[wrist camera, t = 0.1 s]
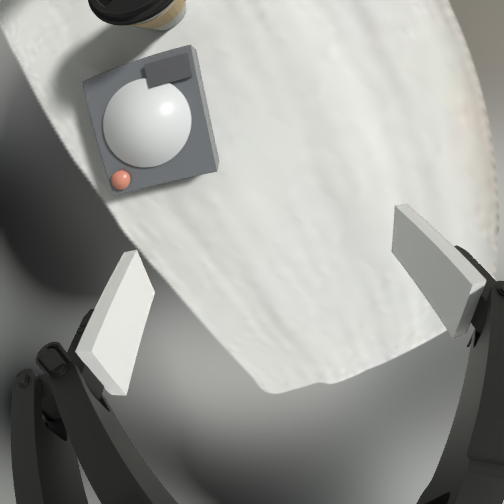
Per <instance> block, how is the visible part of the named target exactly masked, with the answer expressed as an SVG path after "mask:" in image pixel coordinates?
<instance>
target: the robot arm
mask: <svg viewBox="0 0 504 504" xmlns="http://www.w3.org/2000/svg"><path fill="white" fill-rule="evenodd" d="M392 253H393V254H394V255H395V257H396V258H397V259H398V261H399V262H400V263H401V264H402V266H403V267H404V268H405V270H406V271H407V272H408V274H409V275H410V277H411V278H412V279H413V281H414V282H415V283H416V285H417V286H418V288H419V289H420V290H421V292H422V293H423V295H424V296H425V297H426V299H427V300H428V302H429V303H430V305H431V306H432V308H433V309H434V310H435V312H436V313H437V315H438V316H439V318H440V319H441V321H442V323H443V324H444V326H445V327H446V329H447V330H448V332H449V333H450V335H451V336H452V338H455V337H458V336H460V335H463V334H465V333H466V332H467V330H468V328H469V326H470V323H472V325H473V326H474V327H475V330H474V332H473V334H472V336H471V338H470V341H469V343H468V345H467V347H469V346H470V344H471V348H470V354H469V359H468V365H467V370H466V375H465V379H464V384H463V388H462V392H461V396H460V400H459V404H458V407H457V411H456V415H455V418H454V421H453V425H452V428H451V431H450V434H449V437H448V440H447V443H446V445H445V448H444V451H443V454H442V456H441V459H440V461H439V464H438V466H437V469H436V471H435V474H434V476H433V478H432V480H431V482H430V483H429V485H428V486H427V488H426V489H425V490H424V492H423V493H422V495H421V496H420V498H419V500H418V502H417V504H502V503H503V500H504V281H495V280H494V279H493V277H492V276H491V275H490V274H489V273H488V272H487V271H486V270H485V269H484V268H483V267H482V266H481V265H480V264H478V262H477V261H476V260H475V259H473V257H472V256H471V255H470V254H469V253H468V252H467V251H466V250H464V249H463V248H461V247H459V246H453V245H452V244H451V243H450V242H449V241H448V240H447V239H446V238H445V237H444V236H443V235H442V234H441V233H440V232H438V231H437V230H436V229H435V228H434V227H433V226H432V225H431V224H430V223H429V222H428V221H426V220H425V219H424V218H423V217H422V216H421V215H420V214H419V213H417V212H416V211H415V210H414V209H413V208H412V207H410V206H409V205H408V204H402V205H395V211H394V228H393V241H392ZM154 293H155V292H154V289H153V287H152V285H151V283H150V280H149V278H148V275H147V273H146V271H145V268H144V266H143V263H142V261H141V259H140V256H139V254H138V251H137V250H133V251H128V252H124V254H123V255H122V257H121V259H120V261H119V262H118V264H117V266H116V268H115V270H114V272H113V274H112V276H111V277H110V279H109V281H108V283H107V285H106V287H105V289H104V291H103V293H102V295H101V297H100V299H99V301H98V303H97V305H96V307H95V309H91V310H90V311H89V312H88V313H87V314H86V315H85V316H84V318H83V320H82V322H81V324H80V327H79V328H78V330H77V332H76V333H77V334H75V337H74V339H73V341H72V343H71V345H70V347H69V350H68V352H66V351H65V350H64V349H63V347H62V346H61V345H60V343H58V342H51V343H49V344H47V345H45V346H44V347H43V348H42V349H41V350H40V351H39V352H38V354H37V357H36V363H37V365H38V366H39V367H40V368H41V369H42V371H43V372H44V373H45V374H41V375H38V376H37V375H36V374H35V373H34V371H33V370H32V369H29V368H28V369H24V370H22V371H21V372H19V374H17V376H16V378H15V379H14V383H13V391H12V408H11V454H12V470H13V480H14V489H15V497H16V503H17V504H88V501H87V498H86V494H85V490H84V487H83V482H82V478H81V474H80V470H79V465H78V460H77V457H78V459H79V462H80V464H81V466H82V468H83V470H84V472H85V474H86V476H87V478H88V480H89V482H90V484H91V486H92V487H93V489H94V491H95V493H96V495H97V497H98V498H99V500H100V502H101V503H102V504H178V503H177V502H176V501H175V500H174V498H173V497H172V496H171V495H170V494H169V493H168V491H167V490H166V489H165V487H164V486H163V485H162V484H161V482H160V481H159V480H158V478H157V477H156V476H155V475H154V473H153V472H152V470H151V469H150V468H149V466H148V465H147V464H146V462H145V461H144V459H143V458H142V456H141V455H140V454H139V452H138V451H137V449H136V448H135V446H134V445H133V443H132V442H131V440H130V439H129V437H128V435H127V434H126V432H125V431H124V429H123V427H122V426H121V424H120V423H119V421H118V419H117V418H116V416H115V414H114V413H113V411H112V409H111V407H110V405H109V404H108V402H107V400H106V398H105V397H104V396H103V395H102V392H103V388H105V389H106V390H107V391H108V392H109V393H110V394H111V395H127V391H128V387H129V383H130V378H131V375H132V371H133V367H134V363H135V359H136V355H137V352H138V348H139V344H140V340H141V337H142V333H143V330H144V327H145V323H146V320H147V316H148V313H149V310H150V306H151V303H152V299H153V297H154ZM42 417H43V418H42Z"/></svg>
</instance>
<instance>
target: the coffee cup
mask: <svg viewBox="0 0 504 504" xmlns="http://www.w3.org/2000/svg"><path fill="white" fill-rule="evenodd" d="M185 1H186V0H88V2H89V6H90V8H91V10H92V11H93V13H94V14H95V15H96V16H97V17H98V18H99V19H101V20H102V21H104V22H106V23H109V24H113V25H132V26H136V27H141V28H145V29H154V30H158V31H163V30H167V29H170V28H172V27H174V26H175V25H177V24H178V23H179V22H180V21H181V20H182V19H183V17H184V16H185V14H186V2H185Z"/></svg>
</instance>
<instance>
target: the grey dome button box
mask: <svg viewBox="0 0 504 504" xmlns="http://www.w3.org/2000/svg"><path fill="white" fill-rule="evenodd" d="M83 86H84V91H85V95H86V100H87V104H88V108H89V112H90V116H91V120H92V124H93V128H94V132H95V135H96V139H97V142H98V146H99V149H100V153H101V156H102V159H103V163H104V166H105V169H106V172H107V175H108V179H109V182H110V185H111V188H112V191H113V194H114V196H116V195H119V194H123V193H127V192H130V191H134V190H138V189H142V188H146V187H150V186H154V185H158V184H162V183H166V182H171V181H175V180H179V179H184V178H188V177H193V176H197V175H202V174H207V173H212V172H217V170H218V165H219V158H218V153H217V149H216V144H215V139H214V135H213V130H212V125H211V120H210V115H209V111H208V106H207V101H206V96H205V91H204V87H203V82H202V77H201V72H200V67H199V62H198V57H197V52H196V49H195V48H194V47H192V46H191V45H188V46H184V47H180V48H176V49H172V50H169V51H165V52H162V53H158V54H155V55H152V56H149V57H145V58H142V59H139V60H136V61H133V62H131V63H128V64H125V65H122V66H120V67H117V68H114V69H112V70H109V71H107V72H104V73H102V74H99V75H97V76H95V77H92V78H90V79H88V80H85V81H83Z"/></svg>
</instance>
